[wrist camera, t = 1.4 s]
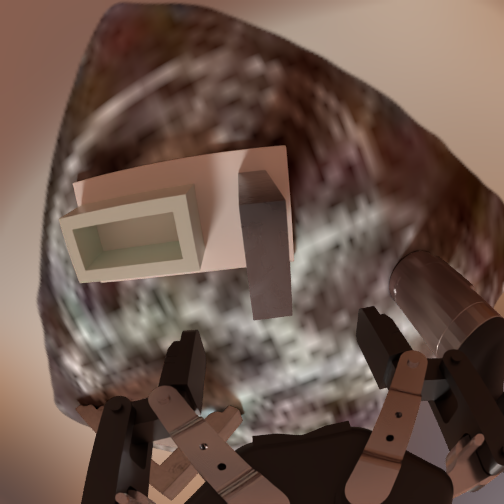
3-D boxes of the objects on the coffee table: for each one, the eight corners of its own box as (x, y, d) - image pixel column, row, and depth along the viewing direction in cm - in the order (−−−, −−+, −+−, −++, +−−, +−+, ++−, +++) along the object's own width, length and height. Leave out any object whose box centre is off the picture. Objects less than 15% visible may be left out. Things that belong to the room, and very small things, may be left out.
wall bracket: (139, 356, 64) (238, 409, 48) (146, 368, 66) (242, 420, 49) (75, 408, 48) (161, 493, 31) (84, 419, 49) (171, 500, 33)
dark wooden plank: (238, 172, 31) (238, 205, 18) (265, 169, 31) (285, 200, 18) (247, 248, 35) (253, 320, 22) (272, 245, 35) (292, 315, 22)
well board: (284, 145, 31) (295, 149, 25) (292, 257, 37) (302, 283, 31) (76, 181, 31) (49, 194, 25) (103, 279, 37) (85, 304, 31)
